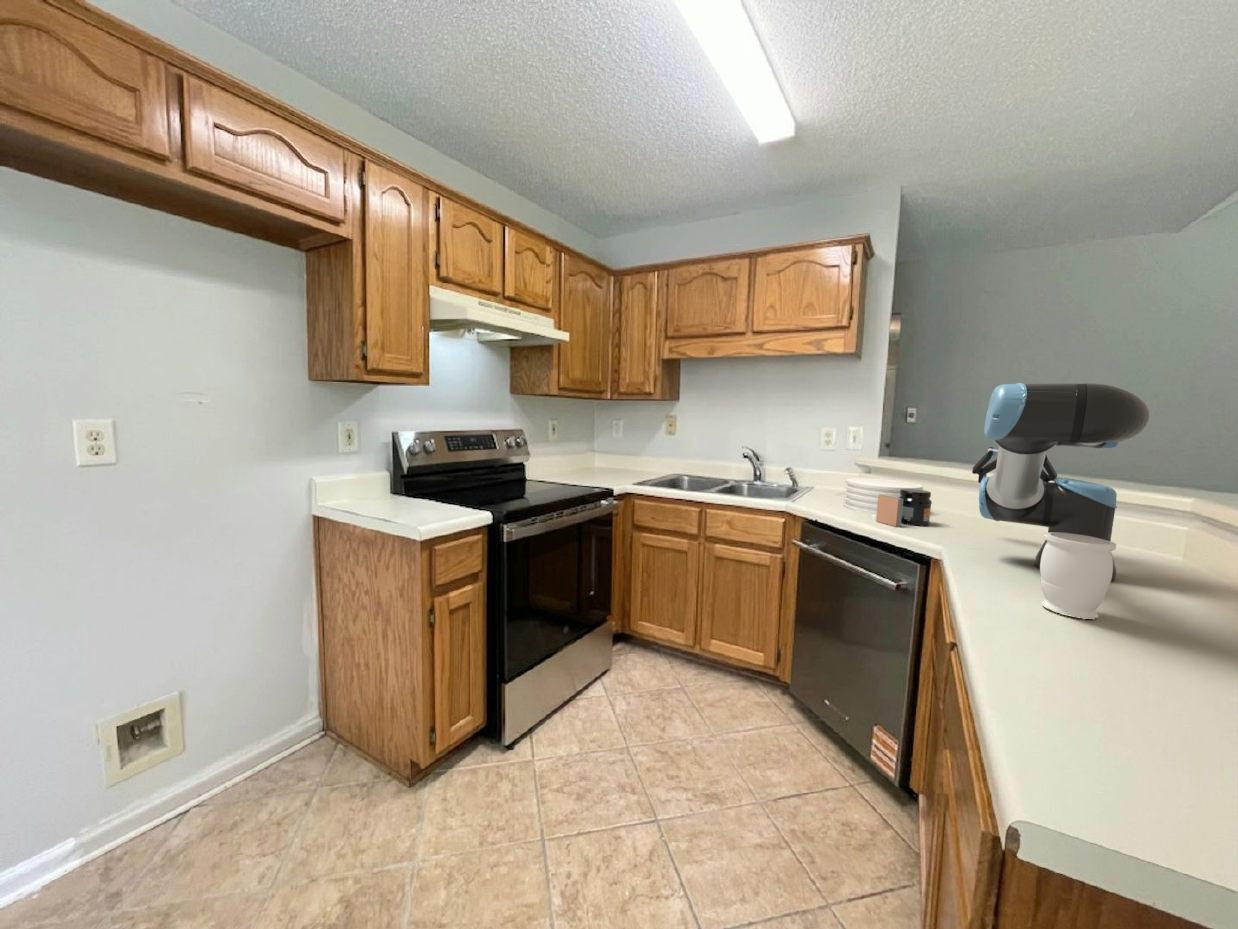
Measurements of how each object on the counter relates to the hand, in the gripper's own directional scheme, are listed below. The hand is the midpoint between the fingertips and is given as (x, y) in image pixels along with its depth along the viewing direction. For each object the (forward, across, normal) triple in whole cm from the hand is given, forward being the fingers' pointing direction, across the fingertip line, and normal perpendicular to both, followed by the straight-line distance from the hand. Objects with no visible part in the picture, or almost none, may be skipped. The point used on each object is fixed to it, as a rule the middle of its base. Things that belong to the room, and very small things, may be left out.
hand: (1009, 493), depth 154 cm
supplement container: (+17, +26, +3) cm, 31 cm away
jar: (-24, -9, +64) cm, 69 cm away
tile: (+12, +32, +10) cm, 36 cm away
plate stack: (+30, +40, -16) cm, 52 cm away
